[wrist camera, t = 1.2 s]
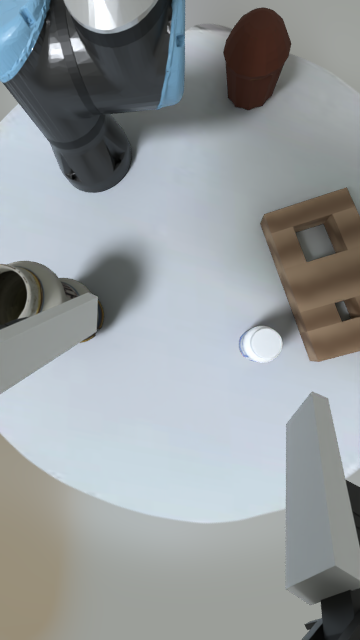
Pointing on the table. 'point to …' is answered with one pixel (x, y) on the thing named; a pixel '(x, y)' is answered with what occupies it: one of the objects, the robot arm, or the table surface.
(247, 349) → the pill bottle
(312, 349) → the socket board
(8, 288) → the apothecary jar
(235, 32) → the muffin
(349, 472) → the table surface
